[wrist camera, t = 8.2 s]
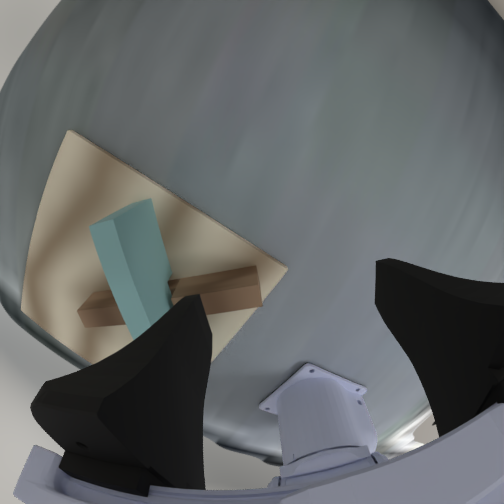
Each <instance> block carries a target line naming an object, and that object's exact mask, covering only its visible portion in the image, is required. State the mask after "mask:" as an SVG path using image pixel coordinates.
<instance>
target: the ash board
mask: <svg viewBox="0 0 504 504" xmlns="http://www.w3.org/2000/svg"><path fill="white" fill-rule="evenodd" d="M150 198H151V199H152V203H153V207H154V211H155V215H156V218H157V222H158V226H159V229H160V233H161V237H162V240H163V244H164V247H165V250H166V254H167V257H168V260H169V264H170V267H171V270H172V275H171V277H170V278H169V280H174V279H180V278H186V277H192V276H198V275H204V274H209V273H215V272H221V271H227V270H232V269H238V268H244V267H249V266H255V265H256V266H257V271H258V276H259V281H260V288H261V297H262V302H263V301H264V299H265V298H266V297H267V296H268V294H269V293H270V292H271V291H272V289H273V288H274V287H275V286H276V284H277V283H278V282H279V281H280V279H281V278H282V277H283V276H284V274H285V273H286V272H287V271H288V268H287V266H285V265H284V264H282V263H281V262H279V261H278V260H276V259H275V258H273V257H272V256H270V255H268V254H267V253H265V252H264V251H262V250H261V249H259V248H258V247H256V246H254V245H253V244H251V243H250V242H248V241H247V240H245V239H244V238H242V237H241V236H239V235H237V234H236V233H234V232H233V231H231V230H230V229H228V228H227V227H225V226H223V225H222V224H220V223H219V222H217V221H216V220H214V219H212V218H211V217H209V216H208V215H206V214H205V213H203V212H202V211H200V210H198V209H197V208H195V207H194V206H192V205H191V204H189V203H187V202H186V201H184V200H183V199H181V198H180V197H178V196H176V195H175V194H173V193H172V192H170V191H169V190H167V189H165V188H164V187H162V186H161V185H159V184H157V183H156V182H154V181H153V180H151V179H150V178H148V177H146V176H145V175H143V174H142V173H140V172H139V171H137V170H135V169H134V168H132V167H131V166H129V165H127V164H126V163H124V162H123V161H121V160H119V159H118V158H116V157H115V156H113V155H111V154H110V153H108V152H107V151H105V150H103V149H102V148H100V147H99V146H97V145H96V144H94V143H92V142H91V141H89V140H87V139H86V138H84V137H83V136H81V135H79V134H78V133H76V132H75V131H73V130H68V131H67V133H66V135H65V138H64V140H63V142H62V145H61V147H60V149H59V152H58V154H57V157H56V159H55V162H54V164H53V167H52V170H51V172H50V175H49V178H48V181H47V184H46V187H45V190H44V193H43V196H42V199H41V203H40V206H39V210H38V213H37V217H36V221H35V225H34V229H33V233H32V238H31V243H30V248H29V253H28V258H27V264H26V270H25V277H24V285H23V294H22V304H21V310H22V311H23V312H24V313H25V314H26V315H27V316H28V317H30V318H31V319H32V320H33V321H34V322H36V323H37V324H38V325H39V326H40V327H42V328H43V329H44V330H45V331H47V332H48V333H49V334H51V335H52V336H53V337H54V338H56V339H57V340H58V341H60V342H61V343H62V344H64V345H65V346H67V347H68V348H69V349H71V350H72V351H74V352H75V353H77V354H78V355H79V356H81V357H82V358H84V359H85V360H87V361H89V362H90V363H92V364H95V363H97V362H99V361H101V360H103V359H104V358H106V357H108V356H110V355H112V354H113V353H115V352H117V351H119V350H120V349H122V348H123V347H125V346H126V345H128V344H129V343H130V342H132V341H133V338H132V336H131V334H130V332H129V330H128V328H127V325H116V326H104V327H91V328H85V327H84V325H83V323H82V321H81V319H80V317H79V315H78V312H77V310H78V309H79V308H80V306H81V305H82V304H83V303H84V302H85V301H86V300H87V299H88V298H89V296H90V295H91V294H92V293H93V292H100V291H106V290H111V289H110V286H109V284H108V281H107V278H106V276H105V273H104V271H103V268H102V265H101V262H100V260H99V257H98V254H97V251H96V248H95V245H94V242H93V239H92V236H91V232H90V229H89V226H90V225H92V224H94V223H96V222H97V221H99V220H101V219H103V218H105V217H106V216H108V215H110V214H112V213H114V212H116V211H118V210H120V209H122V208H124V207H125V206H127V205H129V204H131V203H135V202H139V201H142V200H146V199H150ZM257 308H258V307H256V308H250V309H244V310H238V311H231V312H225V313H218V314H211V315H206V316H207V319H208V322H209V325H210V328H211V331H212V334H213V339H212V358H211V362H212V361H213V360H214V359H215V358H216V356H217V355H218V354H219V353H220V352H221V351H222V349H223V348H224V347H225V346H226V345H227V344H228V342H229V341H230V340H231V339H232V338H233V337H234V335H235V334H236V333H237V332H238V331H239V329H240V328H241V327H242V326H243V325H244V324H245V322H246V321H247V320H248V319H249V318H250V316H251V315H252V314H253V313H254V311H255V310H256V309H257Z"/></svg>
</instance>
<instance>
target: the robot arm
mask: <svg viewBox="0 0 504 504" xmlns="http://www.w3.org/2000/svg"><path fill="white" fill-rule="evenodd" d="M375 305H376V307H377V309H378V311H379V313H380V315H381V317H382V319H383V321H384V322H385V324H386V325H387V327H388V328H389V330H390V331H391V333H392V334H393V335H394V337H395V338H396V340H397V341H398V343H399V344H400V346H401V347H402V348H403V350H404V351H405V353H406V354H407V356H408V357H409V359H410V361H411V362H412V364H413V366H414V368H415V370H416V372H417V374H418V376H419V379H420V381H421V383H422V385H423V388H424V390H425V393H426V395H427V398H428V400H429V403H430V406H431V409H432V412H433V415H434V419H435V422H436V426H437V430H438V434H439V438H437V439H435V440H433V441H431V442H429V443H427V444H425V445H423V446H421V447H419V448H416V449H414V450H412V451H409V452H407V453H405V454H402V455H400V456H397V457H395V458H392V459H390V460H388V458H387V457H386V456H385V455H383V454H380V453H379V452H375V450H376V446H377V433H376V430H375V427H374V425H373V422H372V420H371V417H370V415H369V412H368V410H367V407H366V405H365V402H364V400H363V397H362V395H364V394H365V393H366V392H367V388H366V387H364V386H362V385H359V384H357V383H354V382H352V381H349V380H347V379H345V378H342V377H340V376H338V375H335V374H333V373H331V372H328V371H326V370H324V369H322V368H319V367H317V366H315V365H313V364H310V363H307V364H305V365H303V366H302V367H301V368H300V369H299V370H298V371H297V372H296V373H295V374H294V375H293V376H292V377H290V378H289V379H288V380H287V381H286V382H285V383H284V384H283V385H281V386H280V387H279V388H278V389H277V390H276V391H275V392H273V393H272V394H271V395H270V396H269V397H268V398H266V399H265V400H264V401H263V402H262V403H260V404H259V408H260V409H261V410H264V411H267V412H270V413H273V414H276V415H278V422H279V430H280V439H281V448H282V457H283V465H284V466H281V467H280V475H281V476H279V477H274V478H273V479H272V481H271V482H270V483H269V484H268V486H267V488H260V489H245V490H206V489H205V478H204V465H203V408H204V399H205V393H206V388H207V382H208V376H209V370H210V364H211V358H212V339H213V334H212V331H211V328H210V325H209V322H208V319H207V316H206V313H205V310H204V307H203V303H202V300H201V297H200V294H195V295H189V296H185V297H183V298H182V299H181V300H179V301H178V302H177V303H176V304H175V305H174V306H173V307H172V308H171V309H170V310H168V311H167V312H166V313H165V314H164V315H163V316H162V317H161V318H160V319H159V320H158V321H157V322H155V323H154V324H153V325H152V326H151V327H149V328H148V329H147V330H146V331H145V332H144V333H142V334H141V335H140V336H139V337H137V338H136V339H135V340H133V341H132V342H130V343H129V344H128V345H126V346H125V347H123V348H122V349H120V350H119V351H117V352H115V353H113V354H112V355H110V356H108V357H106V358H104V359H103V360H101V361H99V362H97V363H95V364H93V365H91V366H89V367H86V368H84V369H82V370H79V371H77V372H74V373H71V374H69V375H65V376H63V377H60V378H56V379H53V380H49V381H46V382H45V383H44V384H43V386H42V387H41V389H40V391H39V392H38V394H37V395H36V397H35V399H34V400H33V402H32V403H31V407H30V408H31V411H32V415H33V417H34V418H35V420H36V421H37V423H38V424H39V425H40V426H41V427H42V428H43V430H45V432H47V434H48V435H50V437H52V439H54V441H56V442H57V443H58V444H59V445H60V446H61V447H62V448H63V449H64V450H65V452H64V455H63V457H62V456H60V455H58V454H57V453H55V452H52V451H50V450H47V449H45V448H42V447H40V446H37V445H34V446H33V448H32V450H31V452H30V455H29V457H28V459H27V461H26V463H25V465H24V468H23V470H22V472H21V475H20V477H19V479H18V482H17V484H16V487H15V489H14V492H13V494H14V496H15V497H16V498H18V499H19V500H21V501H22V502H24V503H25V504H504V283H493V282H482V281H474V280H469V279H463V278H458V277H454V276H450V275H446V274H442V273H439V272H435V271H432V270H429V269H426V268H422V267H419V266H416V265H413V264H410V263H407V262H403V261H400V260H396V259H391V258H387V259H382V260H378V261H376V284H375ZM311 369H313V370H311Z"/></svg>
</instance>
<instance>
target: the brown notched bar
mask: <svg viewBox="0 0 504 504" xmlns="http://www.w3.org/2000/svg"><path fill="white" fill-rule="evenodd" d="M168 285H169V288H170V291H171V294H172V297H171V300H172V303H173V306H174V305H175V304H176V303H177V302H178V301H179V300H181V299H182V298H183V297H185V296H189V295H195V294H200V297H201V300H202V303H203V307H204V310H205V313H206V315H211V314H218V313H225V312H231V311H238V310H244V309H250V308H256V307H262V297H261V288H260V281H259V276H258V271H257V266H256V265H255V266H249V267H244V268H238V269H232V270H227V271H221V272H215V273H209V274H204V275H198V276H192V277H186V278H180V279H174V280H168ZM77 312H78V315H79V317H80V319H81V321H82V323H83V325H84V327H85V328H91V327H104V326H116V325H126V323H125V321H124V319H123V317H122V315H121V312H120V310H119V308H118V305H117V303H116V301H115V298H114V296H113V294H112V291H111V290H106V291H100V292H93V293H92V294H91V295H90V296H89V298H88V299H87V300H86V301H85V302H84V303H83V304H82V305H81V306H80V308H79V309H78V310H77Z"/></svg>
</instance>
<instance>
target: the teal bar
mask: <svg viewBox="0 0 504 504" xmlns="http://www.w3.org/2000/svg"><path fill="white" fill-rule="evenodd" d="M89 229H90V232H91V236H92V239H93V242H94V245H95V248H96V251H97V254H98V257H99V260H100V262H101V265H102V268H103V271H104V273H105V276H106V278H107V281H108V284H109V286H110V289H111V291H112V294H113V296H114V298H115V301H116V303H117V305H118V308H119V310H120V312H121V315H122V317H123V319H124V321H125V323H126V325H127V328H128V330H129V332H130V334H131V336H132V338H133V340H135V339H136V338H137V337H139V336H140V335H141V334H142V333H144V332H145V331H146V330H147V329H148V328H149V327H151V326H152V325H153V324H154V323H155V322H157V321H158V320H159V319H160V318H161V317H162V316H163V315H164V314H165V313H166V312H167V311H168V310H170V309H171V308H172V307H173V303H172V300H171V297H172V294H171V291H170V288H169V285H168V280H169V278H170V277H171V275H172V270H171V267H170V264H169V260H168V257H167V254H166V250H165V247H164V244H163V240H162V237H161V233H160V229H159V226H158V222H157V218H156V215H155V211H154V207H153V203H152V199H151V198H150V199H146V200H142V201H139V202H135V203H131V204H129V205H127V206H125V207H124V208H122V209H120V210H118V211H116V212H114V213H112V214H110V215H108V216H106V217H105V218H103V219H101V220H99V221H97V222H96V223H94V224H92V225H90V226H89Z"/></svg>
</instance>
